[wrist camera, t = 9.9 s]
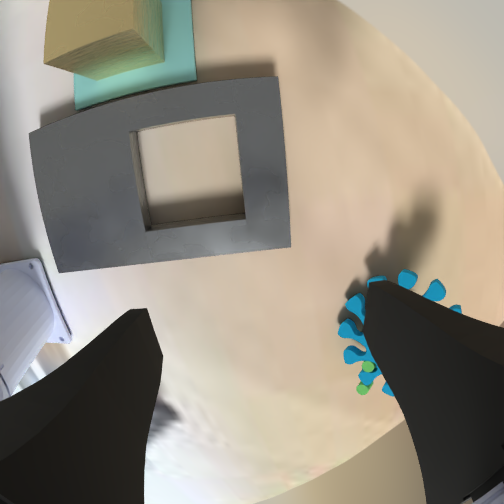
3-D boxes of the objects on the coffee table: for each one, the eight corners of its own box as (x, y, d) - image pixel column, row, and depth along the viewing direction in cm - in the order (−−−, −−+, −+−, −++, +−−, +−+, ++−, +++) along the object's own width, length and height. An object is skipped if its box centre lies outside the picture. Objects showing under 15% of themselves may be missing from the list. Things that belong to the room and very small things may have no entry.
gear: (381, 243, 17) (493, 331, 12) (398, 235, 22) (486, 303, 17) (306, 355, 22) (393, 427, 18) (337, 329, 27) (410, 390, 22)
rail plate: (67, 264, 18) (59, 273, 17) (40, 132, 14) (28, 133, 13) (286, 239, 18) (291, 247, 17) (274, 81, 15) (277, 76, 13)
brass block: (96, 81, 13) (43, 63, 8) (96, 23, 12) (51, -9, 6) (164, 62, 13) (133, 28, 8) (162, 3, 12) (135, -43, 6)
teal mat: (78, 110, 14) (75, 110, 14) (78, 12, 11) (76, 10, 11) (196, 80, 14) (196, 79, 14) (190, -20, 11) (189, -23, 11)
